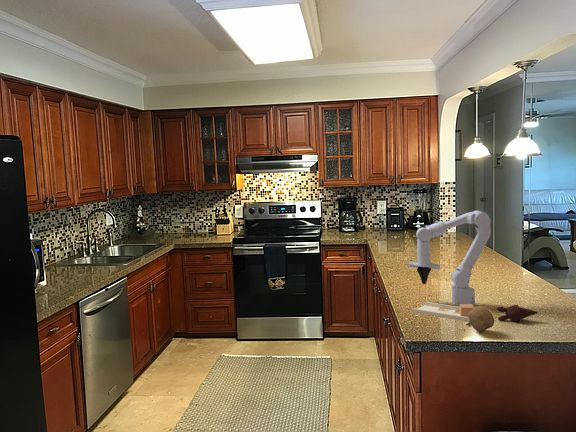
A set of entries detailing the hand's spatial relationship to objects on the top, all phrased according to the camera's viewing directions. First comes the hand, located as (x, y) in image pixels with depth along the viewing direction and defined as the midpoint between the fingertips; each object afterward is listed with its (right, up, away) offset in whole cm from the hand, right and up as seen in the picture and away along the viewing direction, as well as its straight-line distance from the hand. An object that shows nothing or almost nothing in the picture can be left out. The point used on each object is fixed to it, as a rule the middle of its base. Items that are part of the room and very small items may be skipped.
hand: (424, 283), depth 221 cm
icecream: (+30, -12, -26) cm, 41 cm away
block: (+11, -11, -22) cm, 27 cm away
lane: (+5, -12, -16) cm, 21 cm away
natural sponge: (+12, -14, -37) cm, 41 cm away
